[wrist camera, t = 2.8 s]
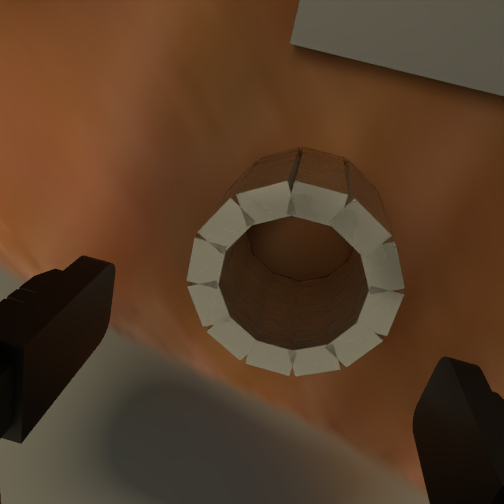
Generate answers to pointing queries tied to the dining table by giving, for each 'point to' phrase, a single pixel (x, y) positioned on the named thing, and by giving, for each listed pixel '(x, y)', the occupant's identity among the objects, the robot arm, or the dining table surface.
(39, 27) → the dining table surface
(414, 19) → the piston block
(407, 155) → the dining table surface
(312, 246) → the dining table surface
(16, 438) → the robot arm
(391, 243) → the ring
